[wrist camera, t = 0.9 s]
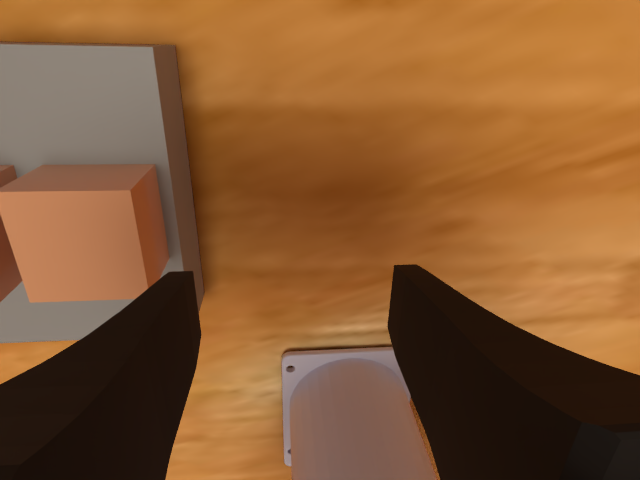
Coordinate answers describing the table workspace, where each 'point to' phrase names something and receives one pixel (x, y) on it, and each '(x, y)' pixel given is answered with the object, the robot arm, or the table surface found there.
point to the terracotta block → (7, 245)
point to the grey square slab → (95, 151)
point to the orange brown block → (86, 231)
